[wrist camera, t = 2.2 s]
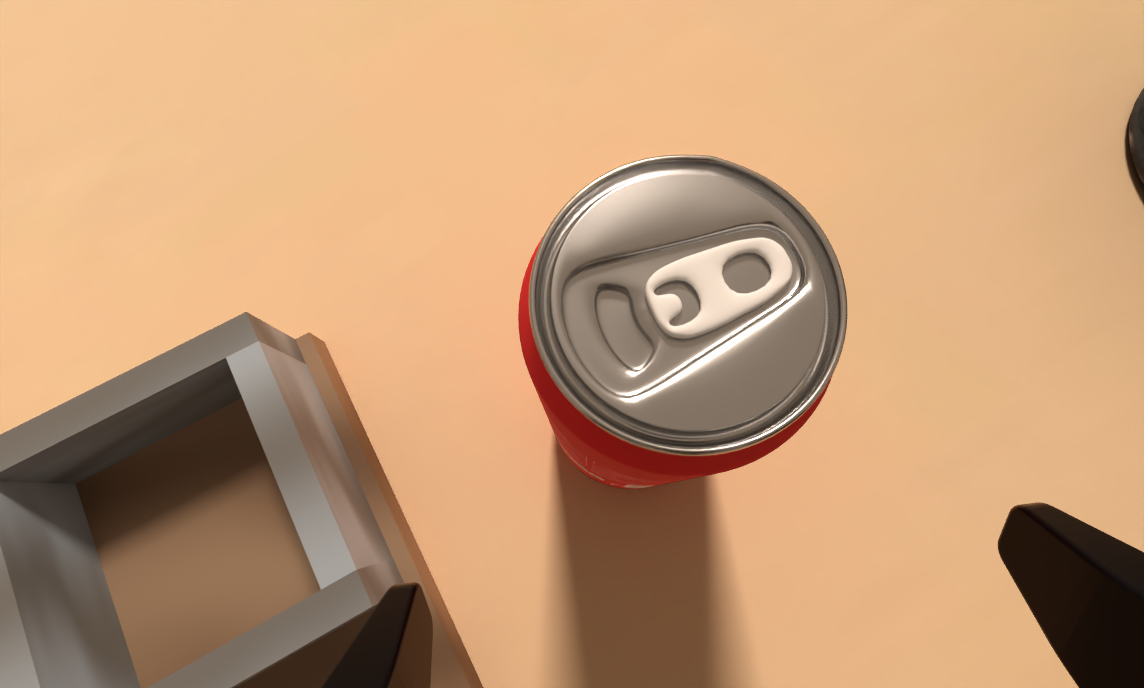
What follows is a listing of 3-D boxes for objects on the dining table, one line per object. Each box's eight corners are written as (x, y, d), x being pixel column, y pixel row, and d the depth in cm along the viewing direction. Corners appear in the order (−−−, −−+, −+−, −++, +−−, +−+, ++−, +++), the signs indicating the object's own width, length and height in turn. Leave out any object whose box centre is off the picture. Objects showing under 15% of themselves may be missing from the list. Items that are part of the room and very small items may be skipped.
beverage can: (529, 374, 21) (461, 212, 9) (663, 317, 21) (760, 94, 9) (588, 514, 19) (598, 536, 8) (729, 451, 20) (935, 383, 8)
